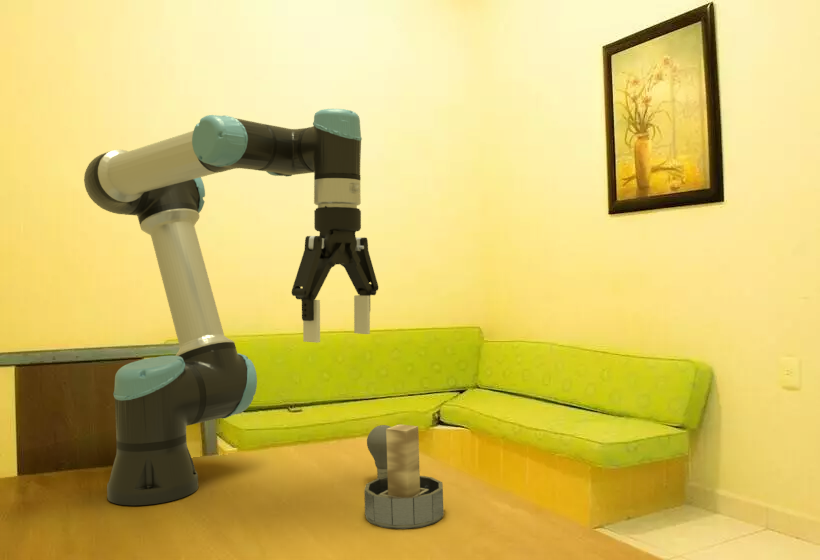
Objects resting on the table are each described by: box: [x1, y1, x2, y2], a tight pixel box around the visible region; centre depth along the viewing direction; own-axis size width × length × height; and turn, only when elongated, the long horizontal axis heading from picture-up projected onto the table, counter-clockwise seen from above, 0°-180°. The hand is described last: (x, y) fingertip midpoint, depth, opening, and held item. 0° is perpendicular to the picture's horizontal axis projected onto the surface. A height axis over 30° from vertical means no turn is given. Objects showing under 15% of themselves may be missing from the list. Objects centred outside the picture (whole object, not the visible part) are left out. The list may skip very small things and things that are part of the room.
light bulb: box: [366, 424, 391, 479], centre depth 130 cm, size 6×6×10 cm
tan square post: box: [386, 424, 421, 497], centre depth 111 cm, size 4×4×13 cm
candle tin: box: [363, 475, 444, 530], centre depth 111 cm, size 12×12×4 cm
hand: (338, 337), depth 117 cm, fingers open, 13 cm apart
